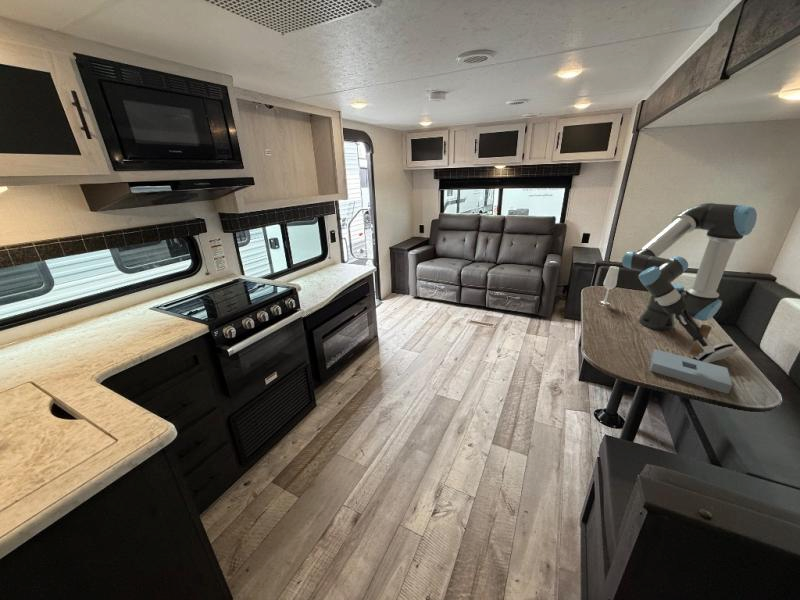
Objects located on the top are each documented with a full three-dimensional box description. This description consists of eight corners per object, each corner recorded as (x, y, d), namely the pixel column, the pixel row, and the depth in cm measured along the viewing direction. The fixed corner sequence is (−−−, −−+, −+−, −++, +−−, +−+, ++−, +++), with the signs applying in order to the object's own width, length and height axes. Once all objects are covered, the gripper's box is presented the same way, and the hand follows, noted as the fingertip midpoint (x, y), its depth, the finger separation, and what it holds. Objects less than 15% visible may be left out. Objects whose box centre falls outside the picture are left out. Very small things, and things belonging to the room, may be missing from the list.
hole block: (650, 371, 133) (653, 363, 131) (651, 356, 143) (653, 348, 141) (728, 393, 119) (732, 385, 118) (723, 375, 130) (727, 367, 128)
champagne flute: (606, 306, 193) (617, 269, 183) (595, 302, 198) (605, 266, 189) (612, 304, 196) (623, 268, 186) (602, 300, 201) (611, 265, 192)
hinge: (715, 351, 146) (732, 337, 140) (725, 359, 143) (743, 345, 136) (690, 357, 142) (707, 343, 135) (700, 366, 138) (718, 352, 132)
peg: (688, 351, 129) (701, 323, 124) (698, 354, 127) (711, 326, 122) (689, 354, 127) (701, 326, 122) (699, 357, 125) (712, 328, 120)
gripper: (660, 299, 135) (697, 345, 132) (660, 312, 123) (700, 362, 120) (681, 291, 130) (719, 338, 127) (682, 303, 118) (725, 355, 115)
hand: (710, 349), depth 124 cm, fingers closed on peg, 3 cm apart
